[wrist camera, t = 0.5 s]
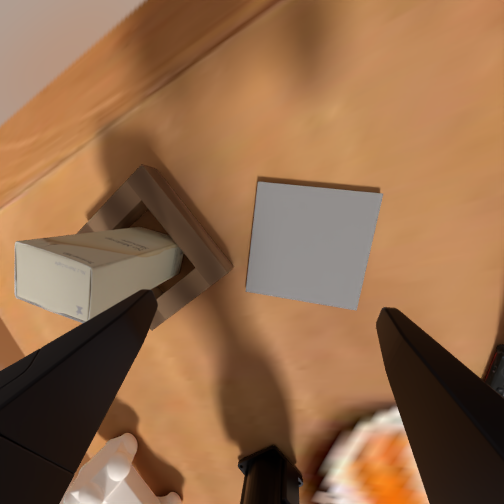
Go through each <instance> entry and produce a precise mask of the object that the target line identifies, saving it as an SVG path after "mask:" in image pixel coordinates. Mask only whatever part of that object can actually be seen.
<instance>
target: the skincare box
mask: <svg viewBox="0 0 504 504" xmlns="http://www.w3.org/2000/svg"><path fill="white" fill-rule="evenodd" d="M182 259H183V251H182V250H181V249H180V248H179V246H178V245H177V244H176V243H175V241H174V240H173V239H172V238H171V236H169V235H166V234H163V233H160V232H157V231H153V230H150V229H147V228H143V227H134V228H125V229H116V230H108V231H99V232H91V233H83V234H75V235H66V236H58V237H49V238H41V239H32V240H24V241H16V242H15V297H16V298H17V299H20V300H23V301H25V302H28V303H30V304H33V305H36V306H38V307H41V308H43V309H45V310H48V311H50V312H53V313H56V314H59V315H62V316H65V317H68V318H70V319H73V320H76V321H78V322H81V323H84V322H86V321H88V320H90V319H91V318H93V317H95V316H96V315H98V314H100V313H102V312H103V311H105V310H107V309H108V308H110V307H112V306H114V305H115V304H117V303H119V302H120V301H122V300H124V299H126V298H127V297H129V296H131V295H132V294H134V293H136V292H138V291H139V290H141V289H149V290H151V289H152V288H154V287H156V286H158V285H159V284H161V283H163V282H165V281H167V280H168V279H170V278H172V277H174V276H175V275H177V274H179V273H180V268H181V264H182Z"/></svg>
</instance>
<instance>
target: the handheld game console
mask: <svg viewBox="0 0 504 504" xmlns="http://www.w3.org/2000/svg"><path fill="white" fill-rule="evenodd" d="M497 350H498V351H497V352H496V354H495V356H494V359H493V361H492V364H491V366H490V369H489V371H488V374H487V376H486V379H485V381H484V382H485V383H486V384H488V385H489V386H490V387H491V388H492V389H494V390H495V391H496V392H497V393H498V394H500V395H501V396H502V397H503V398H504V345H503V344H502V345H499V346H498V347H497Z"/></svg>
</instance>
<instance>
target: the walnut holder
mask: <svg viewBox="0 0 504 504" xmlns="http://www.w3.org/2000/svg"><path fill="white" fill-rule="evenodd" d="M148 209H149V210H150V211H151V213H152V214H153V215H154V216H155V218H156V219H157V220H158V221H159V223H160V224H161V225H162V226H163V228H164V229H165V230H166V231H167V233H168V234H169V235H170V236H171V238H172V239H173V240H174V241H175V243H176V244H177V245H178V246H179V248H180V249H181V250H182V251H183V253H184V254H185V255H186V256H187V258H188V259H189V260H190V261H191V263H192V264H193V265H194V266H195V269H194V270H193V271H191V272H190V273H189V274H188V275H186V276H185V277H184V278H183V279H181V280H180V281H179V282H178V283H176V284H175V285H174V286H173V287H171V288H170V289H169V290H168V291H166V292H165V293H163V292H162V291H161V290H160V288H159V287H158V286H156V287H154V288H152V289H151V290H152V291H153V293H154V295H155V298H156V300H157V303H158V308H157V311H156V313H155V316H154V318H153V321H152V323H151V326H150V329H151V330H153V329H155V328H156V327H157V326H159V325H160V324H161V323H163V322H164V321H165V320H167V319H168V318H169V317H171V316H172V315H173V314H175V313H176V312H177V311H179V310H180V309H181V308H182V307H184V306H185V305H186V304H188V303H189V302H190V301H192V300H193V299H194V298H196V297H197V296H198V295H200V294H201V293H202V292H204V291H205V290H206V289H208V288H209V287H210V286H211V285H213V284H214V283H215V282H217V281H218V280H219V279H221V278H222V277H223V276H225V275H226V274H227V273H228V272H229V271H230V270H231V269H232V268H233V265H232V264H231V263H230V261H229V260H228V259H227V258H226V256H225V255H224V254H223V253H222V251H221V250H220V249H219V248H218V246H217V245H216V244H215V242H214V241H213V240H212V239H211V237H210V236H209V235H208V234H207V232H206V231H205V230H204V229H203V227H202V226H201V225H200V223H199V222H198V221H197V220H196V218H195V217H194V216H193V215H192V213H191V212H190V211H189V209H188V208H187V207H186V206H185V204H184V203H183V202H182V201H181V199H180V198H179V197H178V196H177V194H176V193H175V192H174V190H173V189H172V188H171V187H170V185H169V184H168V183H167V182H166V180H165V179H164V178H163V177H162V175H161V174H160V173H159V171H158V170H157V169H155V168H152V167H149V166H146V165H143V164H142V165H141V166H140V167H139V168H138V169H137V170H136V171H135V172H134V173H133V174H132V175H131V176H130V177H129V178H128V179H127V181H126V182H125V183H124V184H123V185H122V186H121V187H120V188H119V189H118V190H117V191H116V192H115V193H114V194H113V195H112V196H111V198H110V199H109V200H108V201H107V202H106V203H105V204H104V205H103V206H102V207H101V208H100V209H99V210H98V211H97V212H96V213H95V215H94V216H93V217H92V218H91V219H90V220H89V221H88V222H87V223H86V224H85V225H84V226H83V227H82V228H81V229H80V231H79V232H78V233H77V234H83V233H91V232H99V231H108V230H116V229H125V228H129V227H130V226H131V225H132V224H133V223H134V222H135V221H136V220H137V219H138V218H139V217H140V216H141V215H142V214H143V213H144V212H145V211H147V210H148Z"/></svg>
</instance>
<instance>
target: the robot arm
mask: <svg viewBox="0 0 504 504" xmlns="http://www.w3.org/2000/svg"><path fill="white" fill-rule="evenodd" d="M157 308H158V303H157V300H156V298H155V295H154V293H153V291H152V290H149V289H141V290H139V291H138V292H136V293H134V294H132V295H131V296H129V297H127V298H126V299H124V300H122V301H120V302H119V303H117V304H115V305H114V306H112V307H110V308H108V309H107V310H105V311H103V312H102V313H100V314H98V315H96V316H95V317H93V318H91V319H90V320H88V321H86V322H84V323H83V324H81V325H79V326H78V327H76V328H74V329H72V330H71V331H69V332H67V333H66V334H64V335H62V336H60V337H59V338H57V339H55V340H54V341H52V342H50V343H48V344H47V345H45V346H43V347H42V348H41V349H38V350H36V351H35V352H33V353H31V354H29V355H28V356H26V357H24V358H23V359H21V360H19V361H18V362H16V363H14V364H12V365H10V366H8V367H7V368H5V369H3V370H2V371H0V504H59V503H60V501H61V499H62V498H63V495H64V493H65V492H66V490H67V488H68V486H69V484H70V482H71V480H72V478H73V477H74V473H75V472H76V471H77V468H78V467H79V465H80V463H81V461H82V459H83V457H84V455H85V453H86V451H87V450H88V448H89V446H90V444H91V442H92V440H93V438H94V436H95V434H96V432H97V430H98V429H99V427H100V425H101V423H102V421H103V419H104V417H105V415H106V413H107V411H108V410H109V408H110V406H111V404H112V402H113V400H114V398H115V396H116V394H117V392H118V390H119V389H120V387H121V385H122V383H123V381H124V379H125V377H126V375H127V373H128V371H129V369H130V368H131V366H132V364H133V362H134V360H135V358H136V356H137V354H138V352H139V350H140V348H141V346H142V344H143V342H144V340H145V338H146V336H147V333H148V331H149V328H150V326H151V323H152V321H153V318H154V316H155V313H156V311H157ZM376 329H377V334H378V338H379V343H380V348H381V352H382V357H383V362H384V366H385V370H386V374H387V377H388V380H389V383H390V386H391V389H392V392H393V395H394V398H395V401H396V404H397V407H398V410H399V413H400V416H401V419H402V422H403V425H404V428H405V431H406V434H407V437H408V440H409V443H410V446H411V449H412V452H413V455H414V458H415V461H416V464H417V467H418V470H419V473H420V476H421V479H422V482H423V485H424V488H425V491H426V494H427V497H428V500H429V503H430V504H504V398H503V397H502V396H501V395H500V394H498V393H497V392H496V391H495V390H494V389H492V388H491V387H490V386H489V385H488V384H486V383H485V382H484V381H483V380H482V379H481V378H479V377H478V376H477V375H476V374H475V373H473V372H472V371H471V370H470V369H469V368H467V367H466V366H465V365H464V364H463V363H461V362H460V361H459V360H458V359H457V358H455V357H454V356H453V355H452V354H451V353H450V352H448V351H447V350H446V349H445V348H444V347H442V346H441V345H440V344H439V343H438V342H436V341H435V340H434V339H433V338H432V337H430V336H429V335H428V334H427V333H426V332H424V331H423V330H422V329H421V328H420V327H419V326H417V325H416V324H415V323H414V322H413V321H411V320H410V319H409V318H408V317H407V316H405V315H404V314H403V313H402V312H401V311H399V310H398V309H396V308H391V307H383V308H382V310H381V312H380V314H379V317H378V319H377V322H376ZM238 468H239V469H240V470H241V471H242V473H243V474H244V475H245V477H244V483H243V489H242V495H241V501H240V504H299V487H301V486H302V485H303V479H302V478H301V476H300V475H299V474H298V473H297V471H296V470H295V469H294V468H293V467H292V465H291V464H290V463H289V462H288V460H287V459H286V458H285V457H284V455H283V454H282V453H281V452H280V451H279V449H278V448H277V447H276V446H270V447H268V448H266V449H264V450H261V451H259V452H257V453H255V454H253V455H251V456H249V457H246V458H244V459H242V460H240V461H239V462H238Z"/></svg>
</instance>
